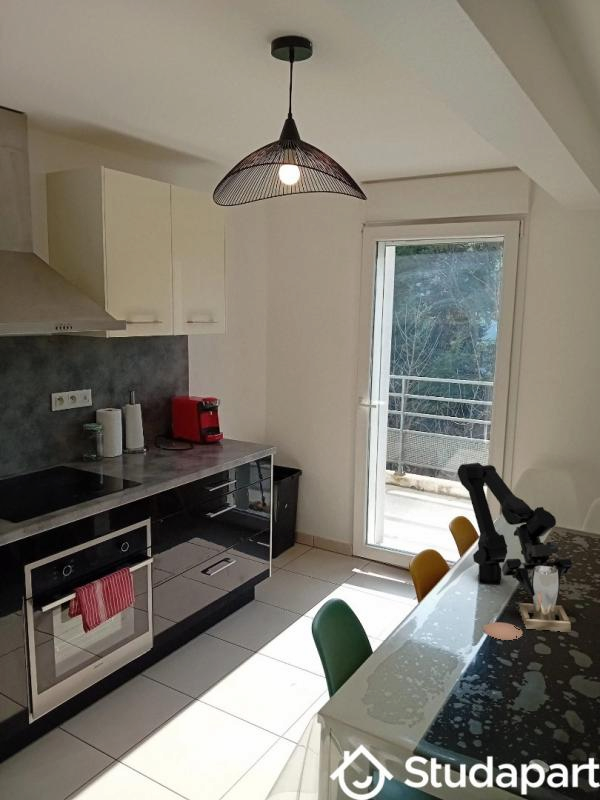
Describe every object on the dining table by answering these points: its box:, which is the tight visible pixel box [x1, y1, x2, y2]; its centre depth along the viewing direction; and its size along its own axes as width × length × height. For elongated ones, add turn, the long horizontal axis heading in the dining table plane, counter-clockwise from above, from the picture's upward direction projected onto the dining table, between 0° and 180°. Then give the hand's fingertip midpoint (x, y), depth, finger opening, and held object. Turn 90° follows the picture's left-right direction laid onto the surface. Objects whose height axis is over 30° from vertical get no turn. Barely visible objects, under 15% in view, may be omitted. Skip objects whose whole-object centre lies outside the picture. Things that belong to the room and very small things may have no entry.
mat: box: [483, 621, 523, 641], centre depth 171 cm, size 10×10×1 cm
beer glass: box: [531, 565, 558, 621], centre depth 176 cm, size 7×7×15 cm
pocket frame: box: [519, 602, 572, 633], centre depth 177 cm, size 11×11×2 cm
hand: (545, 595), depth 176 cm, fingers closed on beer glass, 7 cm apart
